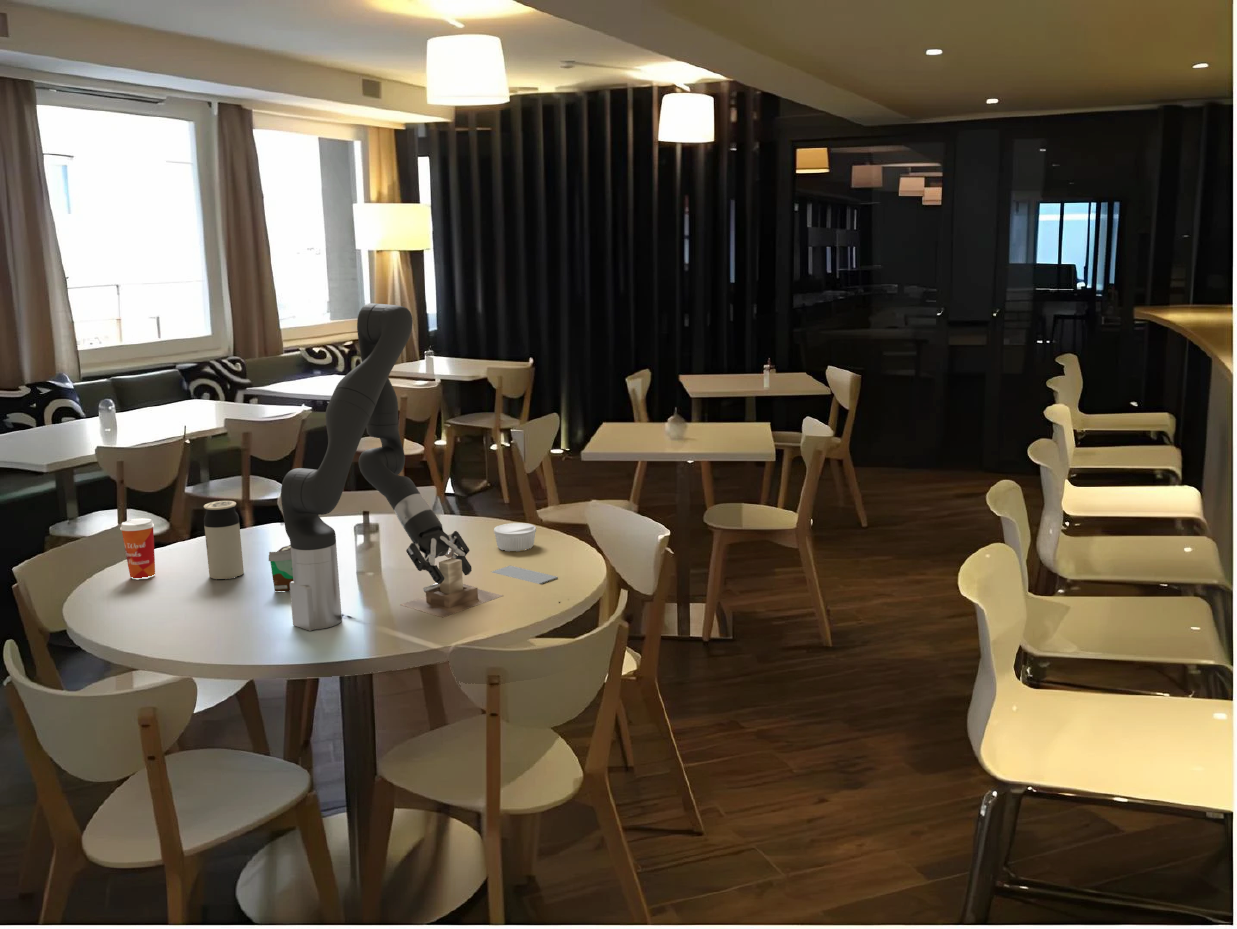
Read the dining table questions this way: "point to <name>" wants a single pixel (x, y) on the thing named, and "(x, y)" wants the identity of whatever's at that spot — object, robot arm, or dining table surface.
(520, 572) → the rubber mat
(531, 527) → the ramekin
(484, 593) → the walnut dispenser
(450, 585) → the tan wooden block
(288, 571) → the food container
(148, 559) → the paper cup
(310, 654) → the dining table surface
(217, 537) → the travel mug
